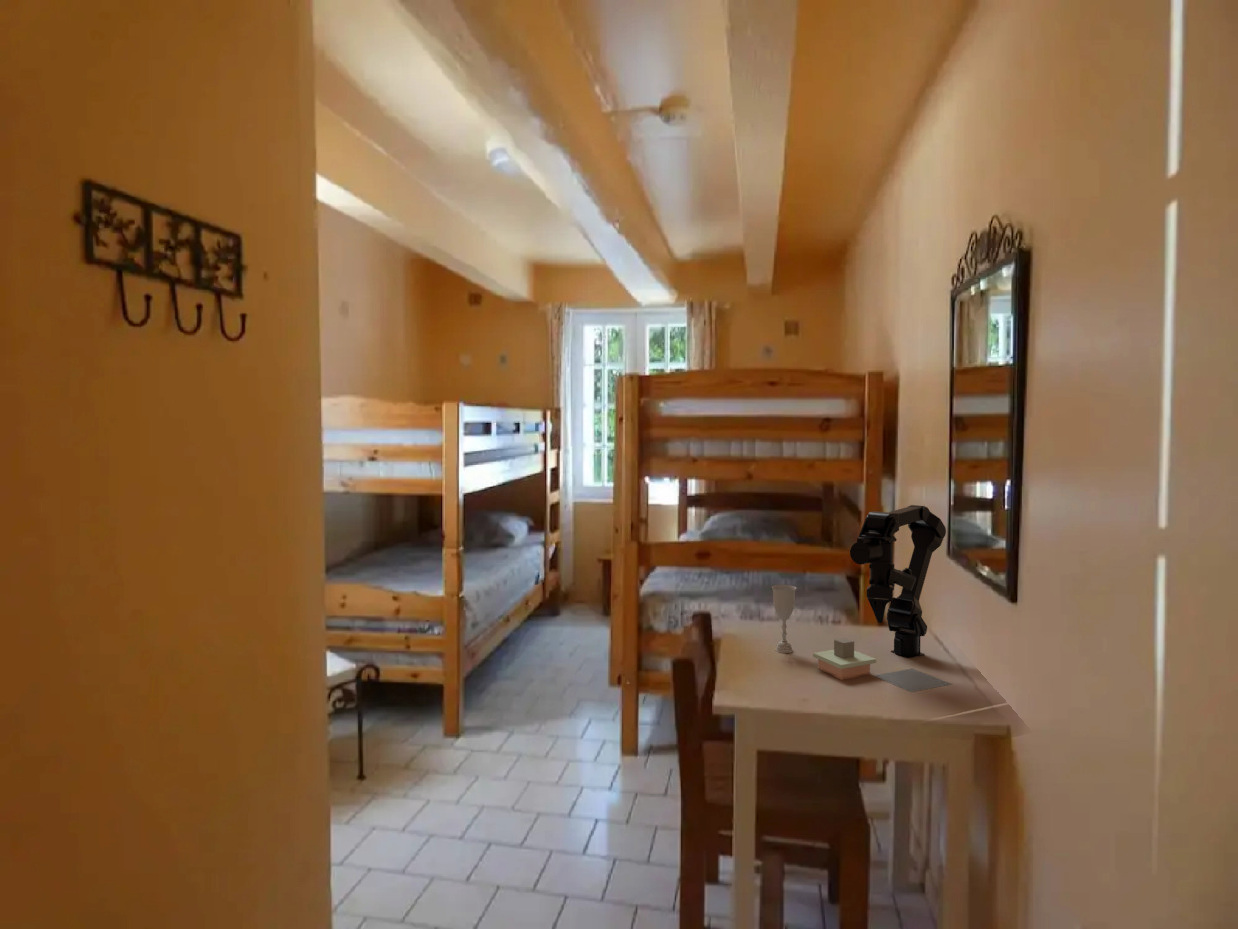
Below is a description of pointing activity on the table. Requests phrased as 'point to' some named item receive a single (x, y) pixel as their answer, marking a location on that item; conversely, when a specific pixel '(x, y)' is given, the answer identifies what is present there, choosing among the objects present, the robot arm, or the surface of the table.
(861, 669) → the dish
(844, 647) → the lid
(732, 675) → the table surface
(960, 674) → the table surface
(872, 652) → the table surface
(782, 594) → the chalice
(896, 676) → the mat
